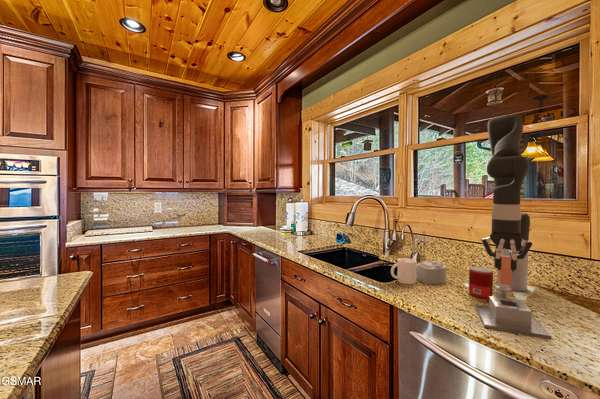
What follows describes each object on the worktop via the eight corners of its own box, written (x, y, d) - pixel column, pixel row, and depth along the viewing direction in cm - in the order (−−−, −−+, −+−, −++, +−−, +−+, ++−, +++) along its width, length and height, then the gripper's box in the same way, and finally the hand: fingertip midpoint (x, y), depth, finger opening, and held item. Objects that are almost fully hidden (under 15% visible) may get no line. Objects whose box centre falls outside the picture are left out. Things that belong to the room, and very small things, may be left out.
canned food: (496, 299, 104) (496, 272, 104) (473, 298, 105) (474, 271, 105) (486, 292, 111) (487, 266, 111) (465, 291, 113) (466, 265, 113)
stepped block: (498, 281, 89) (498, 254, 89) (509, 282, 88) (509, 255, 87) (500, 284, 86) (500, 256, 86) (511, 285, 85) (512, 257, 85)
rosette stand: (474, 304, 100) (474, 259, 99) (527, 312, 93) (528, 264, 92) (484, 327, 83) (485, 274, 82) (551, 339, 76) (552, 281, 76)
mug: (394, 285, 120) (394, 263, 120) (386, 279, 128) (387, 258, 128) (419, 284, 121) (420, 262, 121) (410, 278, 129) (410, 257, 129)
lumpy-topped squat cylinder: (413, 277, 131) (413, 260, 130) (435, 275, 134) (436, 258, 133) (428, 285, 120) (429, 266, 120) (452, 282, 124) (452, 264, 123)
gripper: (529, 217, 87) (528, 269, 87) (478, 216, 93) (477, 264, 93) (538, 220, 80) (536, 276, 81) (482, 218, 86) (481, 270, 87)
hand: (504, 269), depth 87 cm, fingers closed on stepped block, 3 cm apart
